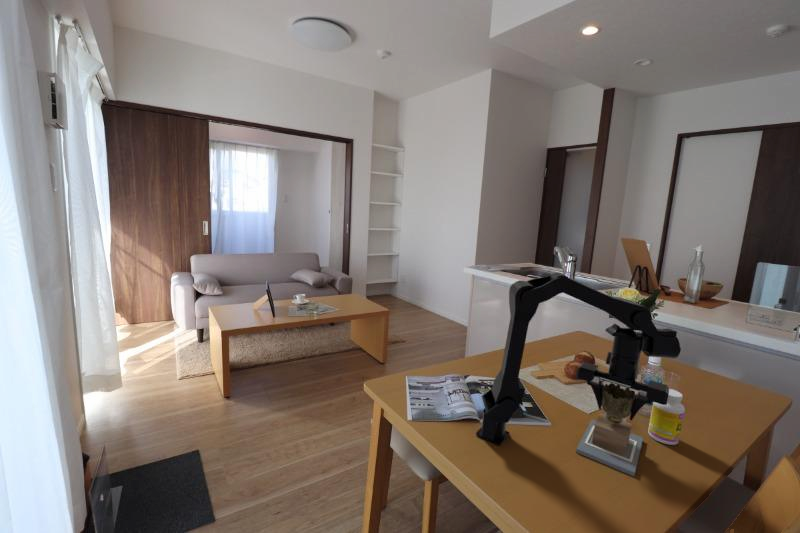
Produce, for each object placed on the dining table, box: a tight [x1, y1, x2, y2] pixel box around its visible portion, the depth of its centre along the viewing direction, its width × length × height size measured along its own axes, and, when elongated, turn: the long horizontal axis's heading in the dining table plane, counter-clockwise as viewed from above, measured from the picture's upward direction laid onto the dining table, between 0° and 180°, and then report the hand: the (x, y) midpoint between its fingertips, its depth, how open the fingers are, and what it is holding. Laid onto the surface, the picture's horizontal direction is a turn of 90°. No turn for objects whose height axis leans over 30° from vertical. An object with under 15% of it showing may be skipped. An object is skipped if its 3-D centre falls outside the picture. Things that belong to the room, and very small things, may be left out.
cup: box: [601, 382, 638, 423], centre depth 91 cm, size 8×7×8 cm
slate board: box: [575, 419, 644, 477], centre depth 92 cm, size 17×12×1 cm
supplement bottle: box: [647, 388, 686, 446], centre depth 96 cm, size 7×7×13 cm
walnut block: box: [592, 412, 633, 456], centre depth 92 cm, size 7×7×5 cm
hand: (615, 414), depth 91 cm, fingers closed on cup, 6 cm apart
